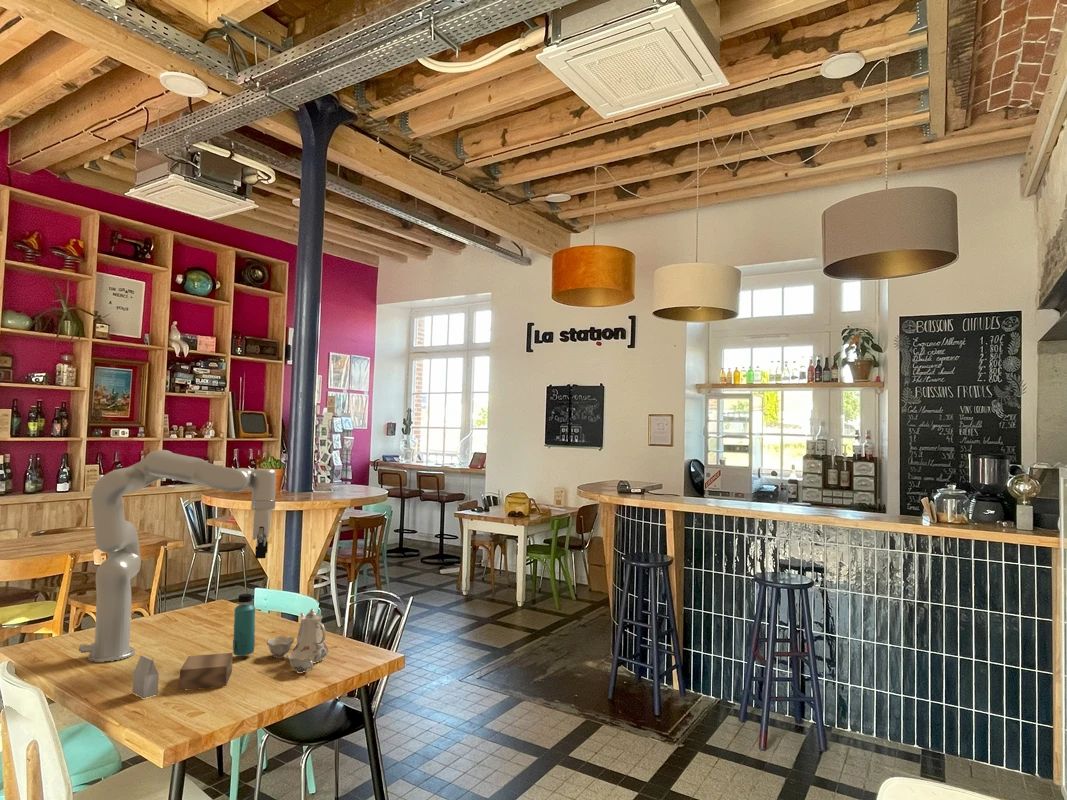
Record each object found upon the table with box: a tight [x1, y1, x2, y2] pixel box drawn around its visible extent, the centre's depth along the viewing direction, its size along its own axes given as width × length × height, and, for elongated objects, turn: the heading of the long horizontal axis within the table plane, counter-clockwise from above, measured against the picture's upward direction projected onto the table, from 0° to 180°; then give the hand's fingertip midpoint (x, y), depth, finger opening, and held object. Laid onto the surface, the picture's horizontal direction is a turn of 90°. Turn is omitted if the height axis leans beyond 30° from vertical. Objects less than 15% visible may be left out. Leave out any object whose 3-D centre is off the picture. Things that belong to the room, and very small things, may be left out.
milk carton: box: [131, 654, 160, 698], centre depth 182 cm, size 4×7×10 cm, turn 54°
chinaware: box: [266, 608, 329, 673], centre depth 209 cm, size 28×17×17 cm, turn 47°
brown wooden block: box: [178, 652, 234, 691], centre depth 192 cm, size 12×12×6 cm
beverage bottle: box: [232, 593, 256, 657], centre depth 213 cm, size 6×7×20 cm
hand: (261, 555), depth 225 cm, fingers open, 9 cm apart
